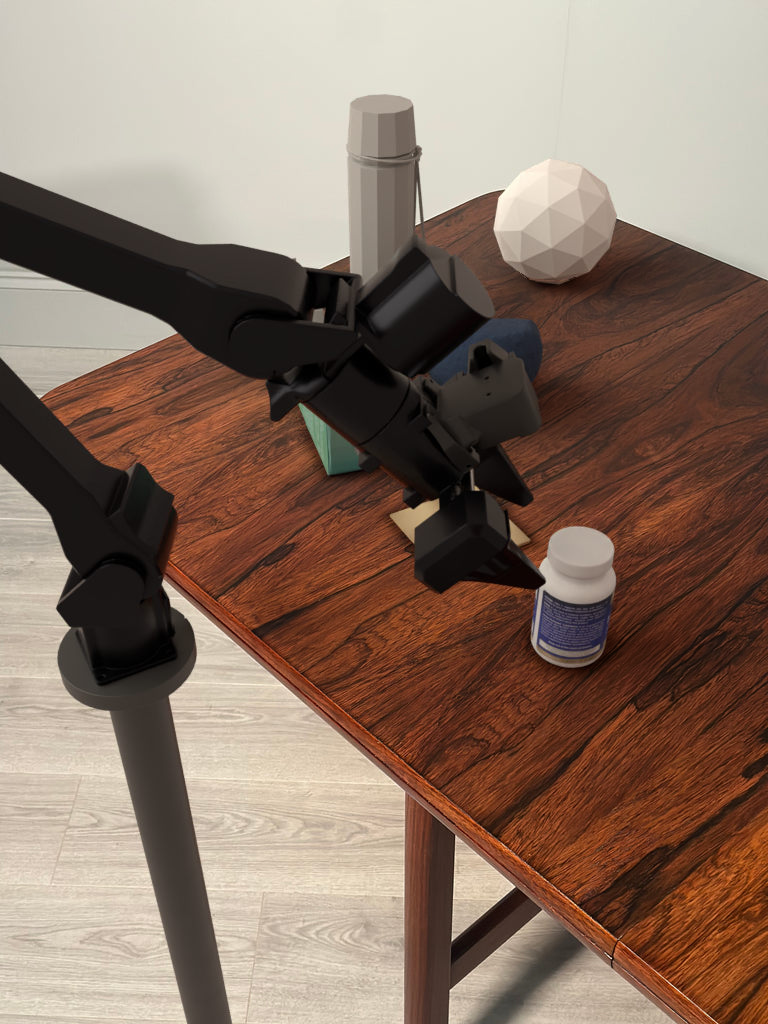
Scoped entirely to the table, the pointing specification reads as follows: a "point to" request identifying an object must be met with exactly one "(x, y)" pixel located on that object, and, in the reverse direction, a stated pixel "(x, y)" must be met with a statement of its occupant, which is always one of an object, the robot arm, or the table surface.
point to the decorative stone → (505, 334)
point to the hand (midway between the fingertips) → (534, 541)
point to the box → (331, 445)
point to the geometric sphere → (554, 221)
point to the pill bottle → (574, 597)
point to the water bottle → (381, 180)
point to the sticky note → (413, 518)
